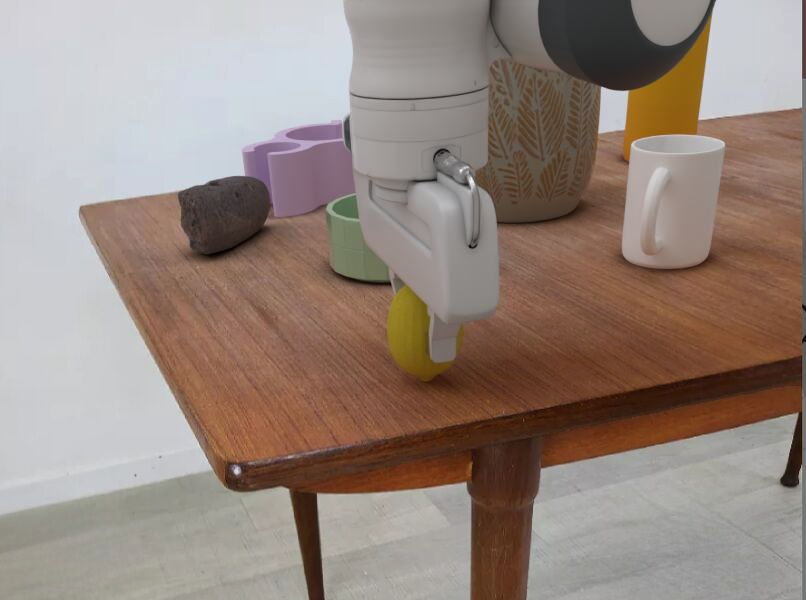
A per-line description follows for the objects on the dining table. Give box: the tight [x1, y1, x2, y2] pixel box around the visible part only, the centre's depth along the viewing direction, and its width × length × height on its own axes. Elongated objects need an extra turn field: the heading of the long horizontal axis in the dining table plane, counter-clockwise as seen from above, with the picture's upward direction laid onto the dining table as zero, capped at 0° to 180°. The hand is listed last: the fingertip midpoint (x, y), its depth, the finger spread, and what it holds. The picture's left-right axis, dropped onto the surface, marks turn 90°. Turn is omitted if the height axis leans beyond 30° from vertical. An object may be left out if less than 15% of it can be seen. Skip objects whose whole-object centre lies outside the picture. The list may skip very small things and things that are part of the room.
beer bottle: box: [622, 10, 714, 163], centre depth 117 cm, size 9×9×29 cm
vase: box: [474, 59, 602, 224], centre depth 101 cm, size 17×17×27 cm
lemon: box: [386, 285, 464, 383], centre depth 68 cm, size 6×6×8 cm
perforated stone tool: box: [177, 175, 271, 255], centre depth 101 cm, size 15×5×7 cm, turn 151°
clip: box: [241, 119, 356, 218], centre depth 117 cm, size 20×12×7 cm, turn 145°
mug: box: [621, 134, 726, 270], centre depth 87 cm, size 12×8×10 cm
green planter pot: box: [325, 193, 391, 283], centre depth 92 cm, size 12×12×6 cm
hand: (425, 341), depth 69 cm, fingers closed on lemon, 5 cm apart
